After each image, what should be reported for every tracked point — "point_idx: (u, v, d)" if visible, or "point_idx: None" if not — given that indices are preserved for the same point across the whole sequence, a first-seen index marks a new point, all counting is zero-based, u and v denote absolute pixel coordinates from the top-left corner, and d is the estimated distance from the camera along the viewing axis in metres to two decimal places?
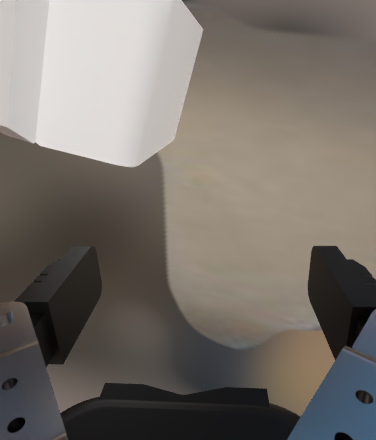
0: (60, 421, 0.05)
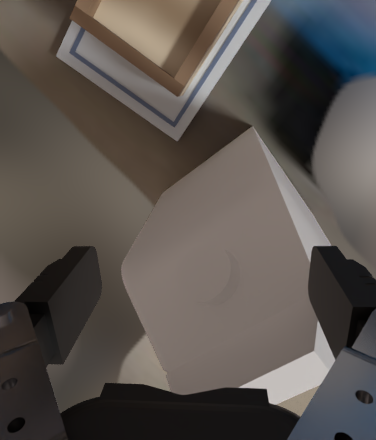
0: (60, 421, 0.05)
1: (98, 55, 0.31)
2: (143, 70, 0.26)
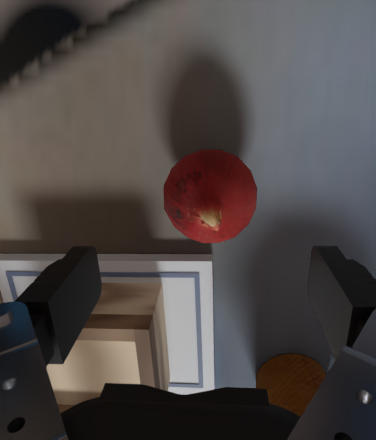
0: (60, 421, 0.05)
1: None
2: None
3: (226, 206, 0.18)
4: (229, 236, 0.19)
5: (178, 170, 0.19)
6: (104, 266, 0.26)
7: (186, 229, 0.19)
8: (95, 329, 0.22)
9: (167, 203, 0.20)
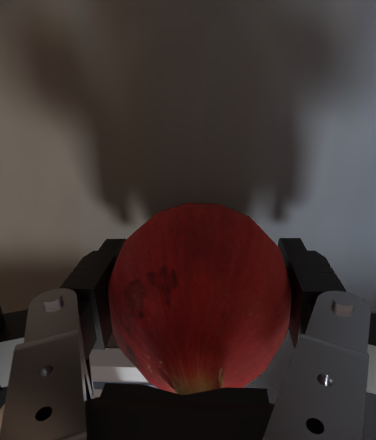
0: (83, 418, 0.05)
1: None
2: None
3: (235, 353, 0.08)
4: None
5: (131, 255, 0.09)
6: None
7: (149, 382, 0.09)
8: None
9: (112, 320, 0.10)
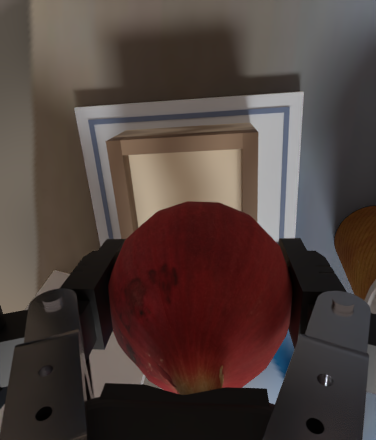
0: (83, 418, 0.05)
1: None
2: (121, 233, 0.24)
3: (235, 351, 0.08)
4: None
5: (132, 254, 0.09)
6: (191, 106, 0.26)
7: (149, 380, 0.09)
8: (202, 136, 0.21)
9: (112, 318, 0.10)
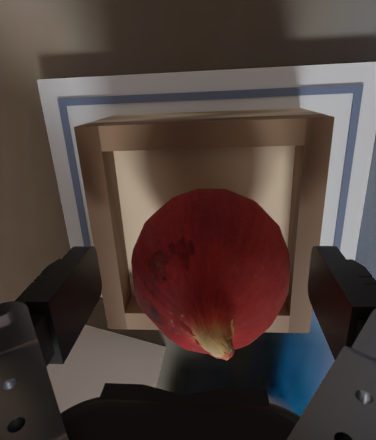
0: (60, 421, 0.05)
1: None
2: (100, 273, 0.16)
3: (243, 308, 0.09)
4: (246, 345, 0.11)
5: (153, 231, 0.11)
6: (212, 80, 0.17)
7: (170, 338, 0.11)
8: (237, 123, 0.13)
9: (136, 288, 0.11)
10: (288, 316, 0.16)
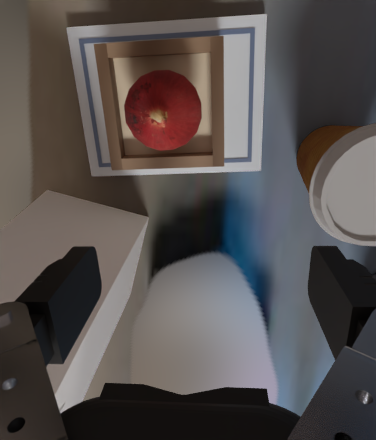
0: (60, 421, 0.05)
1: None
2: (107, 132, 0.28)
3: (171, 108, 0.22)
4: (178, 139, 0.24)
5: (133, 85, 0.23)
6: (169, 26, 0.30)
7: (142, 133, 0.23)
8: (176, 39, 0.25)
9: (126, 114, 0.24)
10: (212, 156, 0.29)
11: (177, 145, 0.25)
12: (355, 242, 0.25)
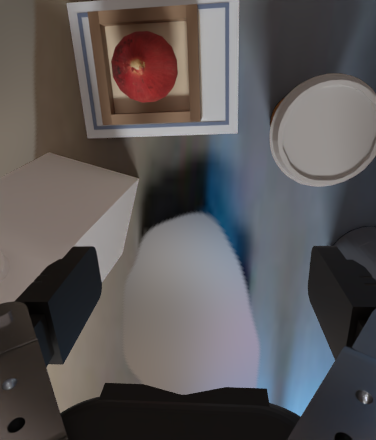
0: (60, 421, 0.05)
1: None
2: (99, 90, 0.33)
3: (149, 60, 0.26)
4: (155, 89, 0.28)
5: (119, 43, 0.28)
6: (155, 2, 0.34)
7: (125, 82, 0.28)
8: (157, 7, 0.29)
9: (112, 67, 0.28)
10: (190, 112, 0.33)
11: (156, 96, 0.29)
12: (309, 181, 0.29)
